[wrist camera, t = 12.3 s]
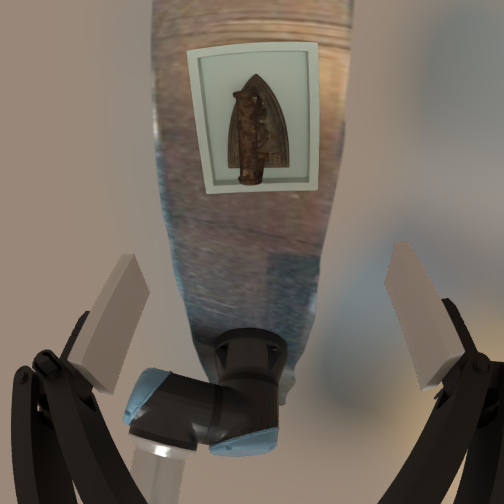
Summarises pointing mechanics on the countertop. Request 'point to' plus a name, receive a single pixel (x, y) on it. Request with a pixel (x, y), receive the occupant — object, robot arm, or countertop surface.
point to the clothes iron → (257, 132)
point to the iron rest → (287, 93)
